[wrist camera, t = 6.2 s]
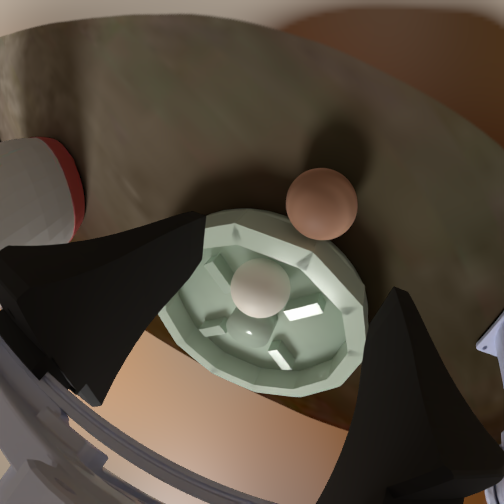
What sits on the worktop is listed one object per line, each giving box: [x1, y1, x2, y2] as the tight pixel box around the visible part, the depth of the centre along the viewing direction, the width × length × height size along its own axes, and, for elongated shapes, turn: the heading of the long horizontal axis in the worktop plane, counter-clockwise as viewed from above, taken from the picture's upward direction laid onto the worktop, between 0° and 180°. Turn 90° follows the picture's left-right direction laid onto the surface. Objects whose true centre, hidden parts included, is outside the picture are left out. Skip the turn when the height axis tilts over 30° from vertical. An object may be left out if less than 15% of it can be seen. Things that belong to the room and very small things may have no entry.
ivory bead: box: [230, 258, 291, 318], centre depth 19 cm, size 4×4×4 cm
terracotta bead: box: [286, 168, 358, 240], centre depth 15 cm, size 4×4×4 cm
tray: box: [158, 208, 369, 397], centre depth 23 cm, size 18×18×3 cm
